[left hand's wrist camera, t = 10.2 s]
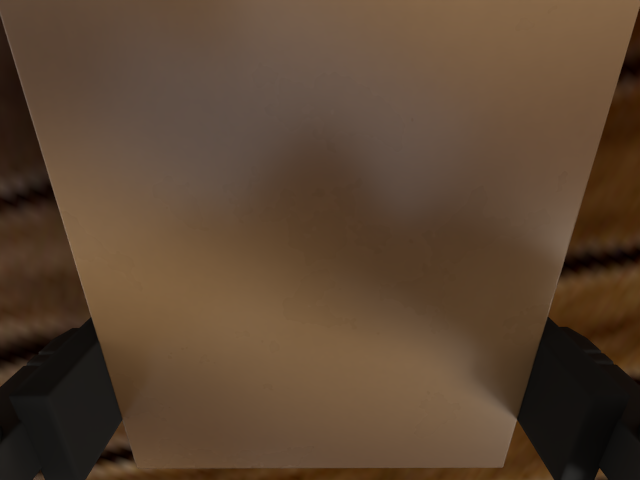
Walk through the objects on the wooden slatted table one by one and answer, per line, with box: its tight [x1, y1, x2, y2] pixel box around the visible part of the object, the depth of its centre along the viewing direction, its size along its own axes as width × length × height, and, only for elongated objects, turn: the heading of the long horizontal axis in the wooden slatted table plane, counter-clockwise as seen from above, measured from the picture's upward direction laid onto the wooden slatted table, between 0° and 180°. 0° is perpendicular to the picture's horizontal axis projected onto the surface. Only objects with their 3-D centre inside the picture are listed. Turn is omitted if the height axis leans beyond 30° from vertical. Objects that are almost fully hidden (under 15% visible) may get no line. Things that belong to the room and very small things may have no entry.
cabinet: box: [0, 0, 640, 468], centre depth 10 cm, size 20×11×9 cm, turn 0°
